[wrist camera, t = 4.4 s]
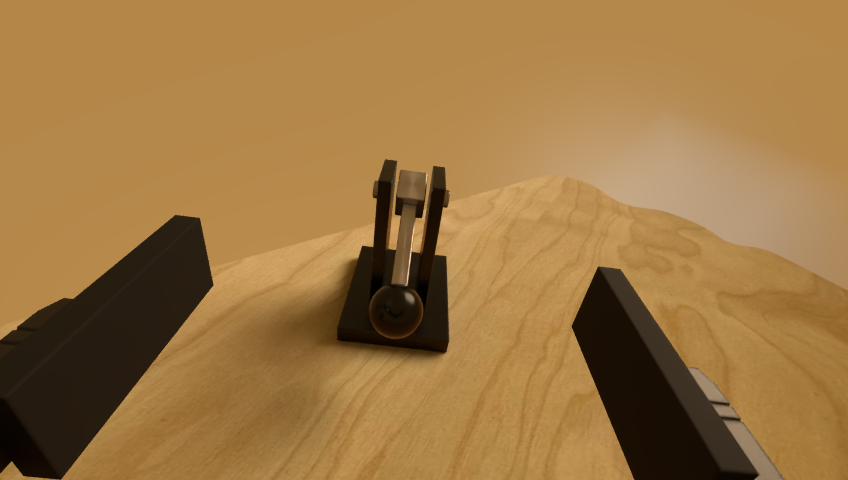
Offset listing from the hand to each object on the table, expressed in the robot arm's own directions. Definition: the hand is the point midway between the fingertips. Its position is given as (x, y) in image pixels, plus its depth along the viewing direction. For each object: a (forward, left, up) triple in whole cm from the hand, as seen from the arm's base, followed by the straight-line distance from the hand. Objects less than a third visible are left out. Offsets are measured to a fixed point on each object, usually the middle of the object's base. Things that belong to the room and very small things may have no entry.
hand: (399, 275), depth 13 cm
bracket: (-6, +17, -16) cm, 24 cm away
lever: (-5, +13, -9) cm, 17 cm away
